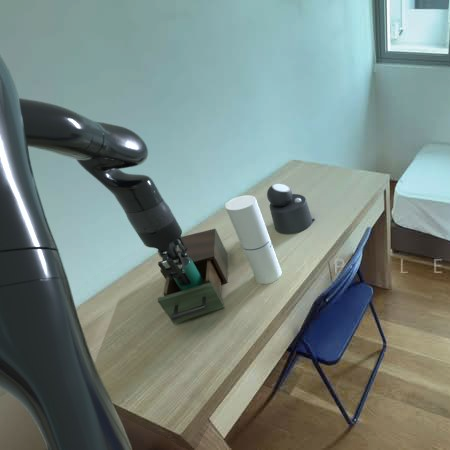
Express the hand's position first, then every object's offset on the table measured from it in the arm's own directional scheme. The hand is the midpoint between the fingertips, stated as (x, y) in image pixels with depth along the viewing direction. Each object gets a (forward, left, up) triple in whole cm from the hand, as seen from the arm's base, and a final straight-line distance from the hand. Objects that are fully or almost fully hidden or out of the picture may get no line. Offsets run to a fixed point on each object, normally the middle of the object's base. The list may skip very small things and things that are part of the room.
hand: (187, 276), depth 78 cm
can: (0, 0, -3) cm, 3 cm away
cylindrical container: (+9, -15, -10) cm, 20 cm away
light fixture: (+36, -16, -10) cm, 41 cm away
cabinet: (+11, +5, -9) cm, 15 cm away
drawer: (-1, -1, -8) cm, 9 cm away
